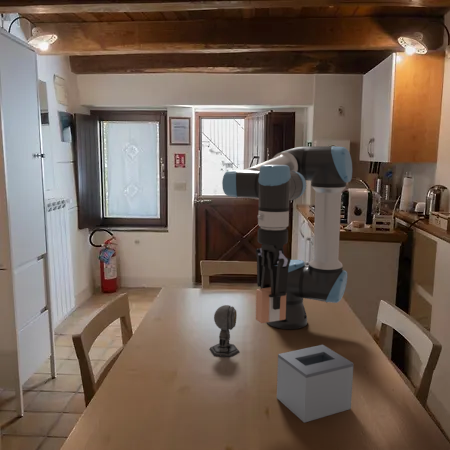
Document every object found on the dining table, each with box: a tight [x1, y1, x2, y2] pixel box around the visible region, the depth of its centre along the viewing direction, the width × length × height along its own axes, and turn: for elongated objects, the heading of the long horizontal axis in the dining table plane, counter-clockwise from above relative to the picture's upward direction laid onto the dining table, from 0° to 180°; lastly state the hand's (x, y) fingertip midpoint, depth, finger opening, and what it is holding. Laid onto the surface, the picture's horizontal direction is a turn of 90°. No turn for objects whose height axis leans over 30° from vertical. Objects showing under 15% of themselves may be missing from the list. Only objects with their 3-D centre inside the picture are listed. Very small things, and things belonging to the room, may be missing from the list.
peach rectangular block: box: [255, 287, 286, 324], centre depth 116 cm, size 7×3×8 cm, turn 114°
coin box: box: [276, 344, 354, 423], centre depth 115 cm, size 14×12×12 cm
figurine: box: [209, 304, 240, 358], centre depth 144 cm, size 9×10×15 cm
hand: (270, 317), depth 117 cm, fingers closed on peach rectangular block, 3 cm apart
